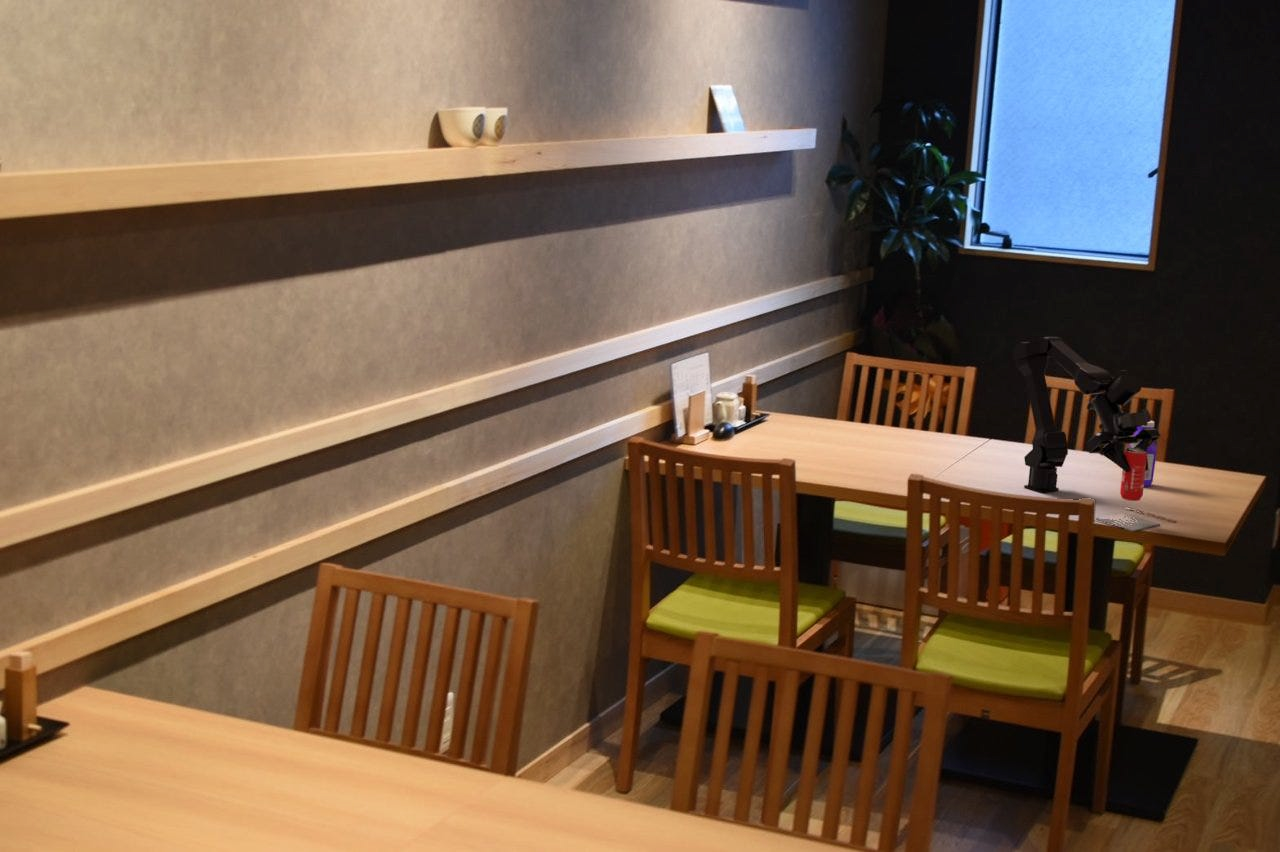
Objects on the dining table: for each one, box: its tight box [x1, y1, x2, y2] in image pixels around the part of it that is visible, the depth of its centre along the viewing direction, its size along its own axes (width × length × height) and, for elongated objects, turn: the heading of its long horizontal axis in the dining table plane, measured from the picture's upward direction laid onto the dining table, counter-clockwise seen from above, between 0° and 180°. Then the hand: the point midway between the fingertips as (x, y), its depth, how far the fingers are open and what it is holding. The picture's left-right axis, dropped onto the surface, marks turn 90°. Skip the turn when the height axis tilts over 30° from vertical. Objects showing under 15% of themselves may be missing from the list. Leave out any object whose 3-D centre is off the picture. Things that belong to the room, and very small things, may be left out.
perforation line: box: [1128, 506, 1177, 524], centre depth 376 cm, size 14×1×1 cm, turn 38°
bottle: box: [1128, 420, 1158, 488], centre depth 404 cm, size 7×6×17 cm
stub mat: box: [1095, 513, 1161, 533], centre depth 369 cm, size 11×11×1 cm
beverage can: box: [1119, 447, 1147, 502], centre depth 366 cm, size 5×5×12 cm
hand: (1137, 470), depth 365 cm, fingers closed on beverage can, 5 cm apart
